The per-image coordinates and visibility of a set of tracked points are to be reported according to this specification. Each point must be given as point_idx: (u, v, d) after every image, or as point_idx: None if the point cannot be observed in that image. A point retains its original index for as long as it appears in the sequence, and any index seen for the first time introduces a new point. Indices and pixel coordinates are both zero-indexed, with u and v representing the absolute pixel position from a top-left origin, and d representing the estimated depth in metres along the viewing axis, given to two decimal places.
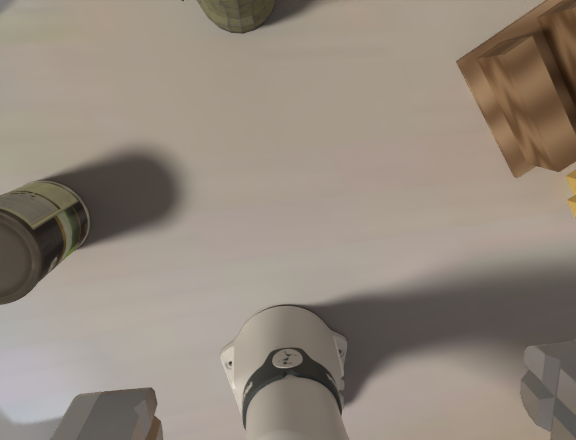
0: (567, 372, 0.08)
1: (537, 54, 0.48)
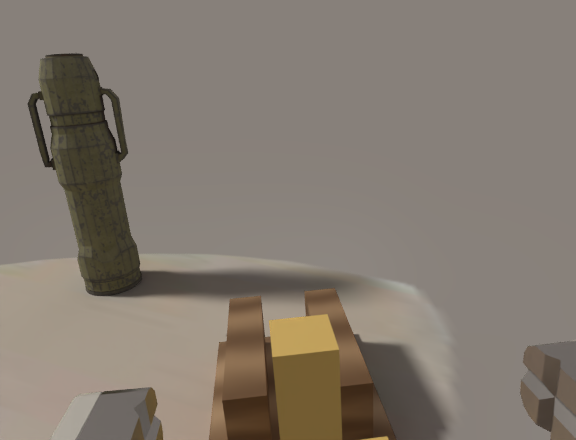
0: (566, 372, 0.08)
1: (258, 305, 0.47)
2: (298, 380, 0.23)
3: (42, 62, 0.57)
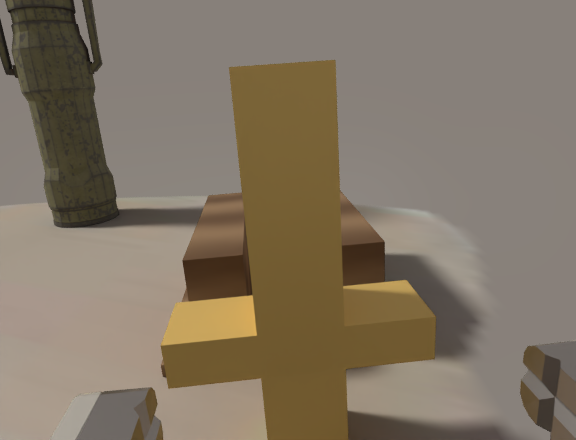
0: (566, 372, 0.08)
1: (242, 197, 0.38)
2: (272, 116, 0.15)
3: None
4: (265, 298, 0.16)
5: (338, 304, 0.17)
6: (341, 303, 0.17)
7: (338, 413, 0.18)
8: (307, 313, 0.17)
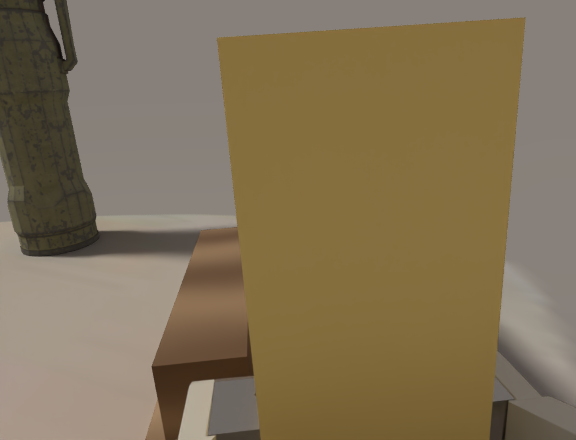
0: None
1: None
2: (337, 178, 0.05)
3: None
4: None
5: None
6: None
7: None
8: None
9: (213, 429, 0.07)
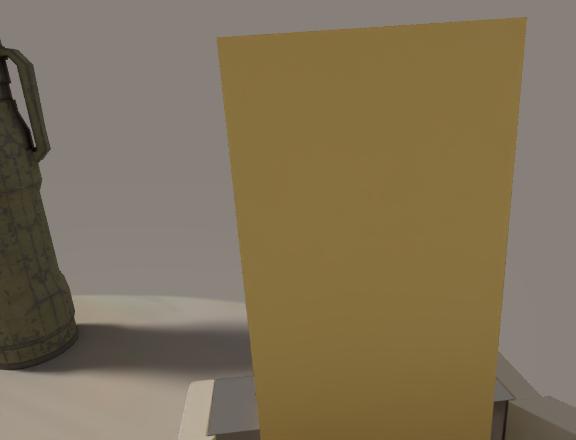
0: None
1: None
2: (337, 178, 0.05)
3: None
4: None
5: None
6: None
7: None
8: None
9: (213, 429, 0.07)
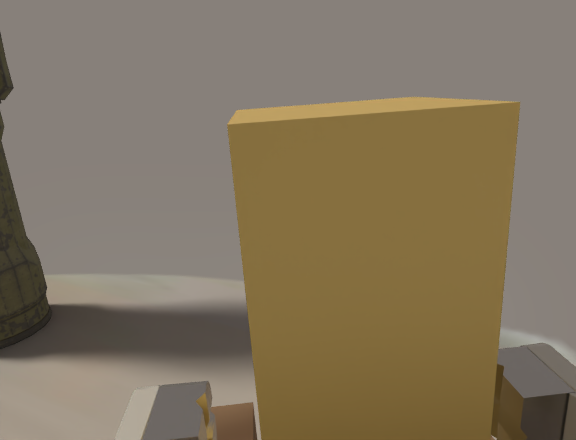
0: (508, 379, 0.08)
1: None
2: (341, 249, 0.06)
3: None
4: None
5: None
6: None
7: None
8: None
9: (148, 437, 0.07)
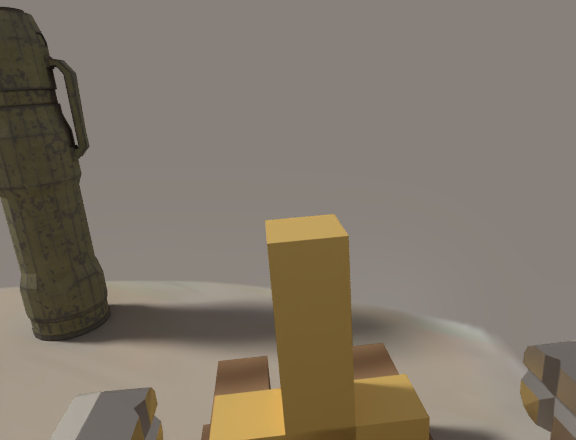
0: (567, 372, 0.08)
1: (263, 374, 0.29)
2: (299, 276, 0.19)
3: None
4: (292, 407, 0.21)
5: (350, 410, 0.21)
6: (353, 409, 0.21)
7: None
8: (326, 417, 0.21)
9: None
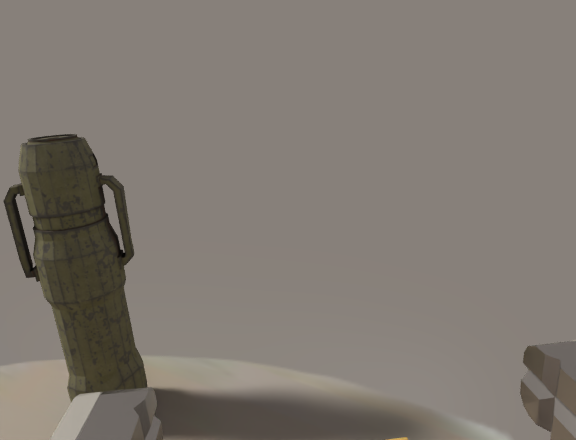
0: (567, 372, 0.08)
1: None
2: None
3: (23, 149, 0.43)
4: None
5: None
6: None
7: None
8: None
9: None
